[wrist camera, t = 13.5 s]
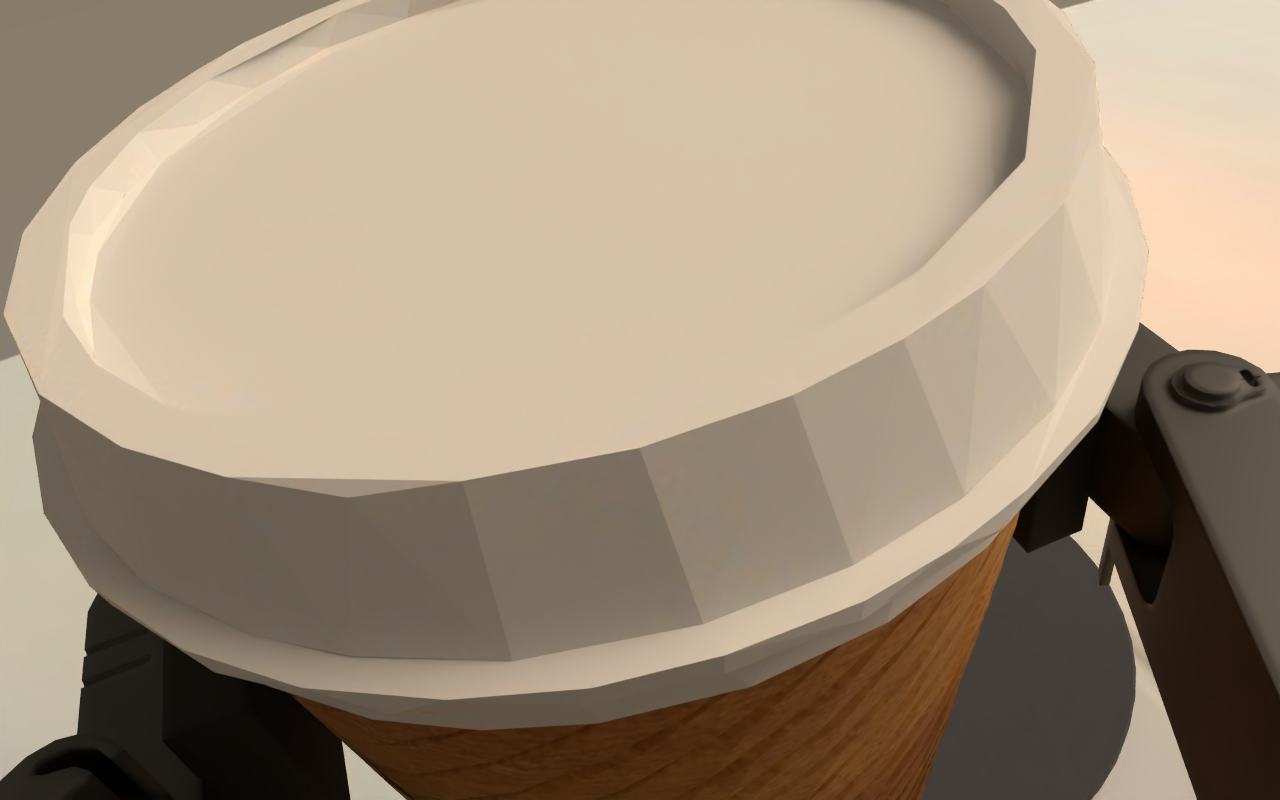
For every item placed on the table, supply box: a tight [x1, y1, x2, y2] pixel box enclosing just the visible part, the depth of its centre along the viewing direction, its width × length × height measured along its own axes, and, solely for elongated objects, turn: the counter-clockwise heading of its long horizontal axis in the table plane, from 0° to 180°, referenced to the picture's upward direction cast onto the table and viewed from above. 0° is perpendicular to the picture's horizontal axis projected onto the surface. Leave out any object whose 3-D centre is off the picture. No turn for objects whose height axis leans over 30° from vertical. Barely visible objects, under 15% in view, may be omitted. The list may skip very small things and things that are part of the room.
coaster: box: [921, 536, 1136, 800], centre depth 30 cm, size 14×14×1 cm
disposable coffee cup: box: [4, 0, 1149, 800], centre depth 12 cm, size 10×10×12 cm
